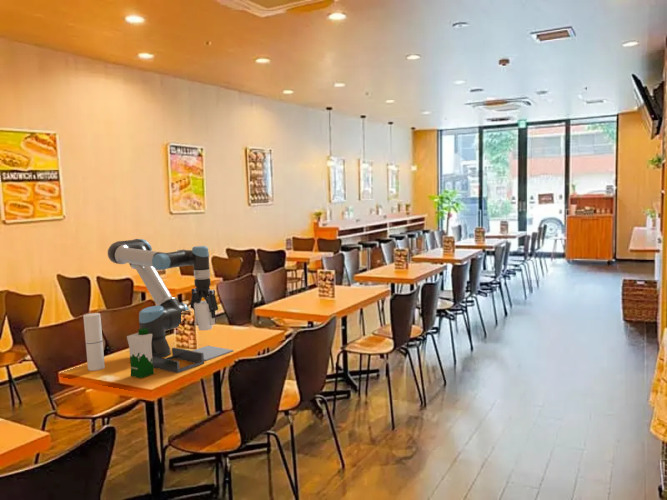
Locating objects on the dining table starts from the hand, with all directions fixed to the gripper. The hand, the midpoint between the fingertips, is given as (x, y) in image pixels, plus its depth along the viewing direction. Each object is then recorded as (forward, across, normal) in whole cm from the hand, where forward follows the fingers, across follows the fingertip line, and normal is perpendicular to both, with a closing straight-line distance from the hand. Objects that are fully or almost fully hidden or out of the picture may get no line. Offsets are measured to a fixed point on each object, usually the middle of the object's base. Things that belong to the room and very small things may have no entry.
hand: (205, 323), depth 278 cm
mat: (+15, 0, 0) cm, 15 cm away
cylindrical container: (+15, -29, -41) cm, 52 cm away
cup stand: (+15, +1, -20) cm, 25 cm away
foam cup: (+3, 0, 0) cm, 3 cm away
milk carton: (+15, -1, -37) cm, 40 cm away
